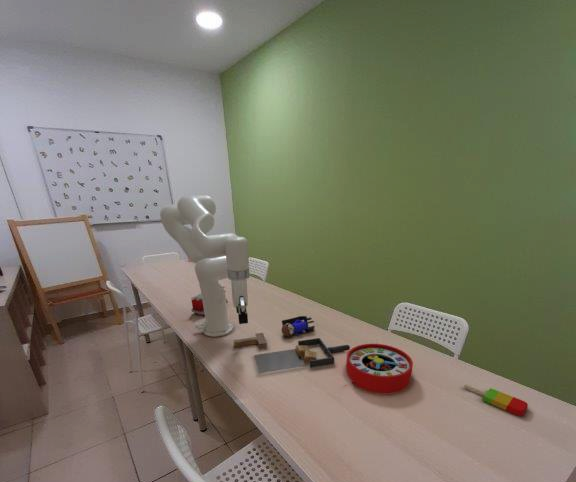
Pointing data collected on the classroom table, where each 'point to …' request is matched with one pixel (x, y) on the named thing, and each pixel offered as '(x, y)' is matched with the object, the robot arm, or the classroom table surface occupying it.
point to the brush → (252, 341)
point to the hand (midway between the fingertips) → (242, 317)
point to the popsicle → (503, 401)
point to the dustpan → (326, 350)
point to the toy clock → (379, 368)
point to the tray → (278, 361)
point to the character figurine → (296, 325)
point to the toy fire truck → (199, 304)
